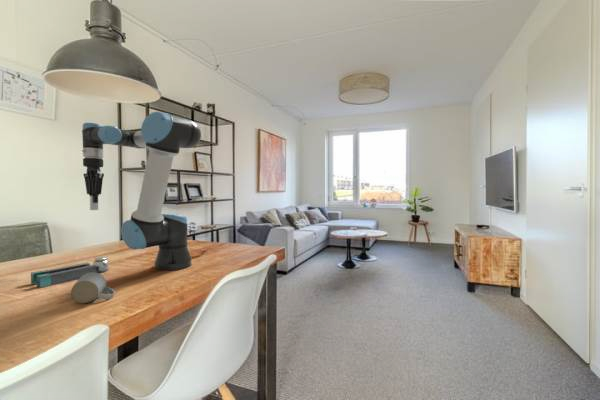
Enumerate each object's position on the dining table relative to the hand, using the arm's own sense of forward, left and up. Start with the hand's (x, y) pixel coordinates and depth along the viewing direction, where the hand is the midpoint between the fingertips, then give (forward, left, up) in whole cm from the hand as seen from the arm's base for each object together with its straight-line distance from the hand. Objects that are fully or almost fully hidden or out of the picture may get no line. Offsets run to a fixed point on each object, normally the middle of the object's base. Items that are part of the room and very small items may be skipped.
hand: (94, 209), depth 133 cm
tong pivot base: (-18, +15, -24) cm, 34 cm away
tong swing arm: (-16, +15, -24) cm, 33 cm away
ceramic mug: (-47, +23, -25) cm, 58 cm away
